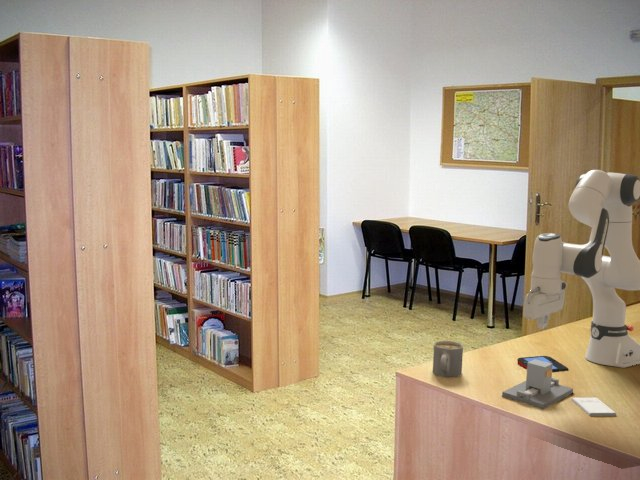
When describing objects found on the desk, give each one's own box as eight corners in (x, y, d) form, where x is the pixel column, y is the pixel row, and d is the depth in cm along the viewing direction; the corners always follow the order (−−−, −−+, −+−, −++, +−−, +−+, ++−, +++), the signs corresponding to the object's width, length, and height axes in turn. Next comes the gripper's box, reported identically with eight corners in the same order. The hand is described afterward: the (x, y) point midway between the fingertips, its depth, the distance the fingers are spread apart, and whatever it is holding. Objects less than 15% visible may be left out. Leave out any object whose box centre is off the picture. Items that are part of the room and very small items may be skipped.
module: (533, 385, 221) (535, 359, 220) (551, 390, 217) (553, 363, 216) (525, 389, 218) (527, 362, 217) (543, 394, 214) (545, 367, 212)
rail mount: (533, 381, 230) (533, 372, 229) (572, 392, 220) (573, 383, 219) (502, 396, 216) (502, 387, 215) (543, 409, 206) (543, 399, 205)
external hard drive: (589, 418, 201) (571, 402, 214) (616, 417, 202) (596, 401, 214) (589, 412, 201) (572, 397, 213) (616, 412, 202) (597, 396, 214)
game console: (534, 375, 237) (535, 369, 237) (514, 363, 249) (514, 357, 249) (569, 371, 242) (570, 365, 241) (547, 360, 254) (548, 354, 253)
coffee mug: (439, 366, 244) (440, 339, 242) (465, 371, 238) (467, 344, 237) (423, 376, 233) (425, 348, 231) (451, 382, 227) (452, 353, 226)
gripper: (538, 291, 203) (535, 336, 205) (569, 282, 217) (566, 324, 219) (519, 288, 207) (516, 331, 209) (551, 279, 222) (548, 320, 224)
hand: (542, 328), depth 214 cm, fingers closed
